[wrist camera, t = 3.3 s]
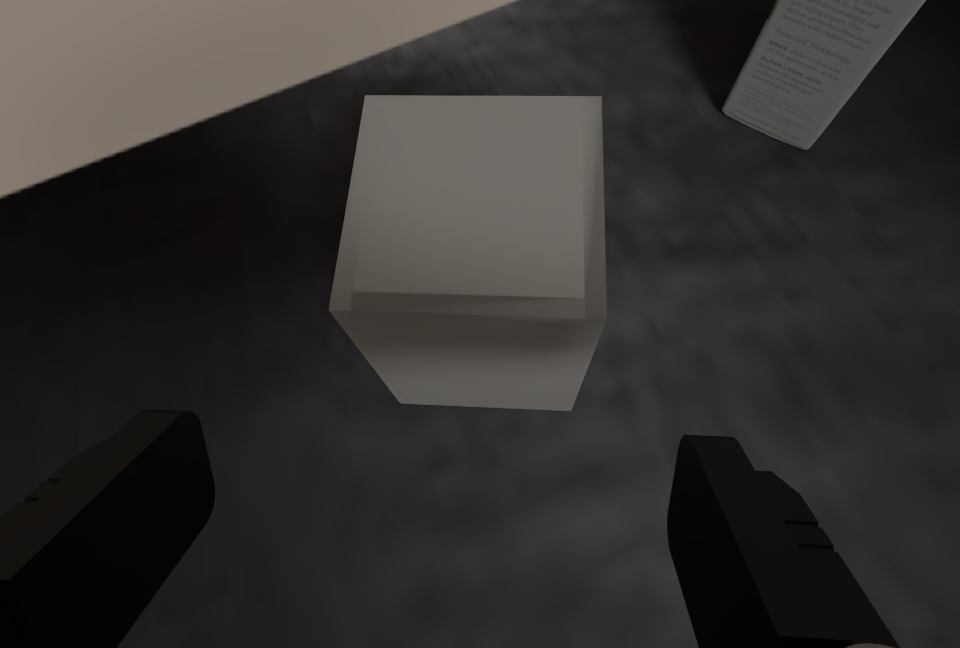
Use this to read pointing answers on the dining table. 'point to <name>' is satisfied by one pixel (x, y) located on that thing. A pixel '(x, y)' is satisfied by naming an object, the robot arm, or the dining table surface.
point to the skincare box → (812, 63)
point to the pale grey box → (476, 248)
